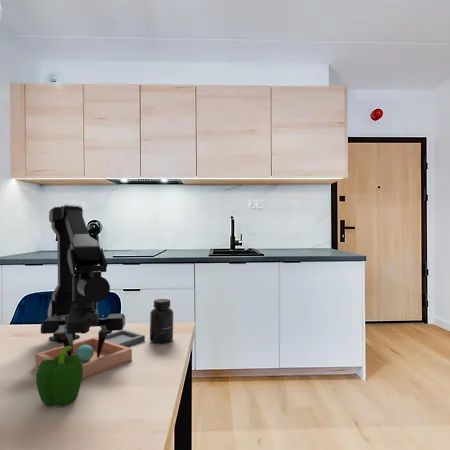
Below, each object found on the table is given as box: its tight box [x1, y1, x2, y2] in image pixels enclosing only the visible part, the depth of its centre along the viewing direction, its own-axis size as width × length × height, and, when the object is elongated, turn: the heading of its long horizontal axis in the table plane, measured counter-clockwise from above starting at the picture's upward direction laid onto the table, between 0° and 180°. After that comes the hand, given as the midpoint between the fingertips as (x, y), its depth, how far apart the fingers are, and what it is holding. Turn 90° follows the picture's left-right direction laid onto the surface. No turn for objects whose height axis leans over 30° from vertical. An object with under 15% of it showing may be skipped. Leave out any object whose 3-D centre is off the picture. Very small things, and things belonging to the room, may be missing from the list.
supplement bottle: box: [149, 298, 174, 345], centre depth 101 cm, size 7×7×12 cm
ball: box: [76, 345, 93, 362], centre depth 84 cm, size 4×4×4 cm
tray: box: [96, 328, 146, 348], centre depth 100 cm, size 10×10×2 cm
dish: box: [35, 336, 133, 381], centre depth 84 cm, size 16×16×3 cm
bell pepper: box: [35, 346, 83, 407], centre depth 66 cm, size 8×8×10 cm
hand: (84, 357), depth 84 cm, fingers open, 6 cm apart
